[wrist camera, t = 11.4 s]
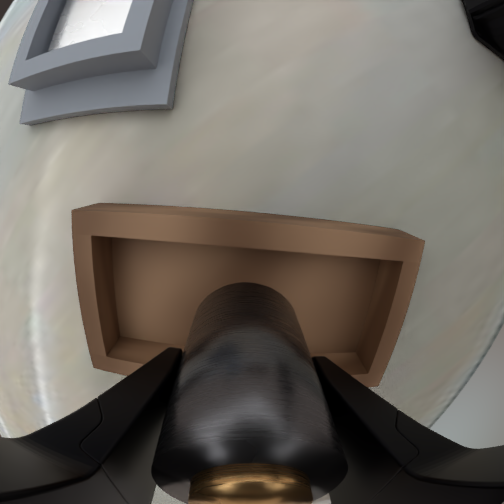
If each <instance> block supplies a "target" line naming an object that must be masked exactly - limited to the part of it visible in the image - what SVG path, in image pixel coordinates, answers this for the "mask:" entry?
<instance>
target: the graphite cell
mask: <svg viewBox="0 0 504 504" xmlns="http://www.w3.org/2000/svg"><path fill="white" fill-rule="evenodd" d="M347 472H348V463H347V460H346V457H345V454H344V451H343V448H342V445H341V442H340V439H339V436H338V433H337V430H336V427H335V424H334V421H333V418H332V415H331V412H330V409H329V406H328V403H327V400H326V397H325V395H324V392H323V389H322V386H321V383H320V380H319V377H318V374H317V372H316V369H315V366H314V363H313V360H312V357H311V355H310V352H309V349H308V346H307V343H306V341H305V338H304V335H303V332H302V329H301V327H300V324H299V321H298V318H297V316H296V313H295V310H294V308H293V307H292V305H291V304H290V302H289V301H288V300H287V299H286V298H285V297H284V296H283V295H282V294H281V293H279V292H278V291H276V290H274V289H273V288H270V287H268V286H265V285H262V284H258V283H251V282H241V283H234V284H229V285H226V286H223V287H221V288H219V289H217V290H215V291H213V292H212V293H211V294H209V295H208V296H207V297H206V298H205V299H204V300H203V301H202V302H201V304H200V305H199V307H198V308H197V311H196V313H195V316H194V319H193V322H192V325H191V328H190V331H189V335H188V338H187V341H186V344H185V348H184V351H183V354H182V358H181V361H180V364H179V368H178V371H177V374H176V378H175V381H174V385H173V388H172V392H171V395H170V399H169V402H168V406H167V409H166V413H165V417H164V420H163V424H162V428H161V432H160V435H159V439H158V443H157V447H156V451H155V455H154V458H153V462H152V466H151V475H152V478H153V479H154V481H155V483H156V484H157V485H158V486H159V487H160V488H161V489H162V490H163V491H165V492H166V493H167V494H169V495H170V496H172V497H174V498H176V499H178V500H180V501H182V502H184V503H187V504H311V503H312V502H313V501H315V500H317V499H319V498H321V497H323V496H324V495H326V494H328V493H329V492H331V491H332V490H334V489H335V488H336V487H337V486H338V485H339V484H340V483H341V482H342V481H343V480H344V478H345V477H346V475H347Z"/></svg>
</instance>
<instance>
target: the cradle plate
mask: <svg viewBox="0 0 504 504" xmlns="http://www.w3.org/2000/svg"><path fill="white" fill-rule="evenodd" d="M132 1H133V0H67V2H66V5H65V7H64V9H63V12H62V14H61V16H60V19H59V21H58V24H57V27H56V29H55V32H54V35H53V38H52V41H51V44H50V47H49V50H48V52H50V51H53V50H56V49H59V48H62V47H65V46H68V45H71V44H75V43H78V42H82V41H86V40H90V39H94V38H98V37H103V36H107V35H112V34H117V33H122V31H123V28H124V24H125V21H126V18H127V15H128V12H129V9H130V6H131V3H132Z"/></svg>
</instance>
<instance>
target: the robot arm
mask: <svg viewBox="0 0 504 504" xmlns="http://www.w3.org/2000/svg"><path fill="white" fill-rule="evenodd" d="M463 3H464V6H465V9H466V13H467V16H468V19H469V23H470V27H471V31H472V33H473V35H474V36H475V38H476V39H478V40H479V41H480V42H482V43H483V44H484V45H486V46H487V47H488V48H490V49H491V50H492V51H494V52H495V53H496V54H497V55H498V56H500V57H501V58H502V59H503V60H504V0H463ZM182 354H183V352H182V349H181V348H176V347H168V348H166V349H165V350H164V351H162V352H161V353H160V354H158V355H157V356H155V357H154V358H153V359H151V360H150V361H148V362H147V363H146V364H144V365H143V366H141V367H140V368H138V369H137V370H136V371H134V372H133V373H131V374H130V375H129V376H127V377H126V378H124V379H123V380H121V381H120V382H119V383H117V384H116V385H114V386H113V387H111V388H110V389H108V390H107V391H106V392H104V393H103V394H101V395H100V396H98V399H97V398H95V399H94V400H92V401H91V402H89V403H88V404H86V405H85V406H83V407H81V408H80V409H78V410H77V411H75V412H73V413H71V414H70V415H68V416H66V417H64V418H62V419H60V420H58V421H56V422H54V423H52V424H50V425H48V426H46V427H44V428H42V429H40V430H37V431H35V432H33V433H31V434H29V435H26V436H23V437H19V438H3V437H0V504H151V502H152V499H153V495H154V491H155V488H156V483H155V481H154V479H153V478H152V475H151V466H152V462H153V458H154V455H155V451H156V447H157V443H158V439H159V435H160V432H161V428H162V424H163V420H164V417H165V413H166V409H167V406H168V402H169V399H170V395H171V392H172V388H173V385H174V381H175V378H176V374H177V371H178V368H179V364H180V361H181V358H182ZM312 360H313V363H314V366H315V369H316V372H317V374H318V377H319V380H320V383H321V386H322V389H323V392H324V395H325V397H326V400H327V403H328V406H329V409H330V412H331V415H332V418H333V421H334V424H335V427H336V430H337V433H338V436H339V439H340V442H341V445H342V448H343V451H344V454H345V457H346V460H347V463H348V472H347V475H346V477H345V478H344V480H343V481H342V482H341V483H340V484H339V485H338V486H337V487H336V488H335V489H334V490H332V491H331V492H329V496H330V501H331V504H504V445H502V446H497V447H490V448H483V449H472V448H467V447H464V446H462V445H459V444H457V443H455V442H453V441H451V440H449V439H447V438H445V437H443V436H441V435H440V434H438V433H436V432H434V431H432V430H430V429H428V428H427V427H425V426H423V425H421V424H420V423H418V422H417V421H415V420H413V419H412V418H410V417H409V416H407V415H406V414H404V413H403V412H401V411H400V410H398V411H397V408H396V407H394V406H393V405H391V404H390V403H388V402H387V401H386V400H384V399H383V398H381V397H380V396H379V395H377V394H376V393H374V392H373V391H372V390H370V389H369V388H367V387H366V386H365V385H363V384H362V383H361V382H359V381H358V380H356V379H355V378H354V377H352V376H351V375H350V374H348V373H347V372H346V371H344V370H343V369H342V368H340V367H339V366H338V365H336V364H335V363H334V362H332V361H331V360H330V359H328V358H327V357H325V356H313V357H312Z"/></svg>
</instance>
